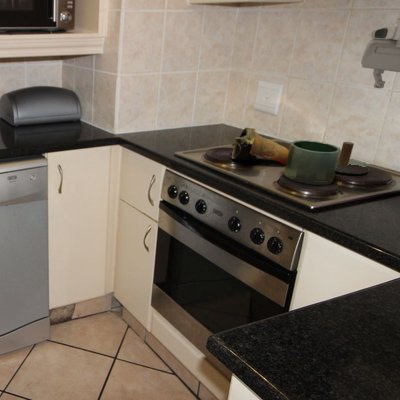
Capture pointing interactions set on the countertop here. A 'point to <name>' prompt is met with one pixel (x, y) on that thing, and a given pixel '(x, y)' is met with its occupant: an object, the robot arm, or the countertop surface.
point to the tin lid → (347, 157)
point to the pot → (257, 147)
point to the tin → (312, 162)
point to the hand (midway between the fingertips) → (397, 91)
